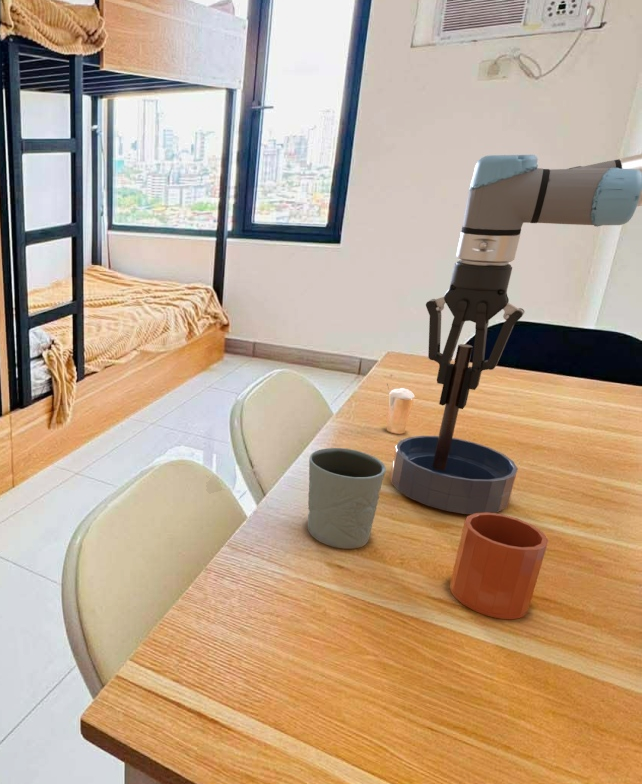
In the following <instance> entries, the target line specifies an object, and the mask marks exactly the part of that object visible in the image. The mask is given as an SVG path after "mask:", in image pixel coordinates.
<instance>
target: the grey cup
mask: <svg viewBox="0 0 642 784" xmlns="http://www.w3.org/2000/svg"><path fill="white" fill-rule="evenodd" d="M308 459H309V460H308V470H309V471H308V476H309V477H308V501H307V503H308V506H307V507H308V514H307V530H308V533H309V535H311V537H312V538H314V539H315V540H316V541H317V542H319V543H321V544H324V545H326V546H330V547H332V548H337V549H344V550H345V549H347V550H351V549H353V550H354V549H359V548H362V547H364V546H366V545H367V544H368V542H369V540H370V537H371V532H372V527H373V523H374V521H375V520H374V519H375V515H376V511H377V506H378V504H379V499H380V494H379V493H380V491H381V489H382V486H383V482H384V478H385V474H386V470H387V469H386V465H385V464H384V463H383V461H381V460H380V459H379V458H377V457H376V456H374V455H371V454H369V453H367V452H363V451H360V450H356V449H351V448H343V447H342V448H341V447H328V448H327V447H326V448H320V449H317V450H315V451H313V452H312V453H311V454H310V456H309V458H308Z"/></svg>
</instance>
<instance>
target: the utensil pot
mask: <svg viewBox="0 0 642 784" xmlns="http://www.w3.org/2000/svg"><path fill="white" fill-rule="evenodd" d="M548 543H549V539H548V537H547V535H546V534H545V533H544V531H542V530H541V529H539V528H538V527H536V526H535V525H533V524H532V523H529V522H527V521H524V520H522V519H519V518H517V517H515V516H514V517H513V516H511V515H507V514H503V513H497V512H496V513H487V512H486V513H474V514H468V515H467V516H466V518H465V520H464V523H463V528H462V532H461V536H460V540H459V544H458V548H457V553H456V557H455V561H454V565H453V570H452V573H451V578H450V581H449V582H450V583H449V587H450V588H449V589H450V593H451V594H452V595H453V597H454V598H455V599H456V600H457V601H458V602H459V603H461V604H462V605H463V606H464V607H467V608H468V609H470V610H472V611H474V612H476V613H478V614H480V615H484V616H488V617H491V618H494V619H500V620H501V619H502V620H516V619H520V618H523V617H524V616H526V615H527V613H528V612H529V609H530V605H531V602H532V599H533V594H534V593H535V588H536V585H537V582H538V578H539V575H540V571H541V567H542V564H543V561H544V557H545V554H546V551H547V547H548Z"/></svg>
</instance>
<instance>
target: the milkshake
mask: <svg viewBox="0 0 642 784" xmlns="http://www.w3.org/2000/svg"><path fill="white" fill-rule="evenodd" d="M386 386H387V389H388V392H389V394H388V409H387V410H388V411H387V422H386V431H387V432H389V433H391V434H395V435H402V434H404V433H406V432H405V431H406V428H407V424H408V421H409V416H410V413H411V409H412V406H413V403H414V401H415V394H414V392H413V391H411V390H410V389H407V388H404V387H401V388H394V389H392V390H391V391H390V387H389V384H388V383H386Z"/></svg>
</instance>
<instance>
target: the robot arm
mask: <svg viewBox="0 0 642 784" xmlns="http://www.w3.org/2000/svg"><path fill="white" fill-rule="evenodd" d="M538 166H539V165H538V156H536V155H535V154H508V155H507V154H492V155H490V154H489V155H483V156H482V157H481V158H480V159H478V160H477V161H476V163H475V166H474V170H473V174H472V176H471V177H472V178H471V181H470V186H469V190H468V194H467V199H466V205H465V209H464V216H463V220H462V226H461V232H460V235H459V241H458V244H457V248H456V249H457V250H456V255H455V257H456V259H458V260H457V261H456V262H455V263H454V264H453V270H452V273H451V274H452V275H451V279H450V284H449V288H448V290H447V291H446V292H445V293H444V294H443V296H441V297H438V298H431V299H429V300H428V301H427V302H426V303H425V307H426V310H427V313H428V315H429V322H428V323H429V325H428V356H427V358H428V360H430V361H434V362H435V363H437V364H438V365H439V366H438V372H437V377H436V383H437V384H440V385H442V388H441V394H440V398H439V399H440V400H439V402H438V405H440V406H445V404H446V400H447V395H448V391H449V386H450V381H451V377H452V372H453V367H454V363H451V362H452V361H453V356H454V354H455V351H456V348H457V346H458V342H459V339H460V336H461V334H462V331H463V327H464V324H465V322H473V323H474V324H475V327H474V328H475V333H474V343H473V350H472V362H471V366H468V369H467V370H466V372H465V376H464V381H463V385H462V390H461V394H460V399H459V403H458V408H459V410H464V408H465V407H466V405H467V402H468V398H469V393H470V390H473V391H475V390H476V389H477V388H478V387H479V385H480V380H481V376H482V372H483V371H486V370H489V371H492V370H494V369H495V368H496V367H497V365H498V363H499V361H500V359H501V356H502V354H503V351H504V350H505V348H506V345H507V343H508V340H509V338H510V335H511V333H512V331H513V329H514V326H515V324H516V323H518V321H519V320H520V319H521V318H522V317H523V315H524V314H525V309H523V308H521V307H519V308H518V307H516V306H515V305H513V304H511V303H510V302H509V297H508V288H509V284H510V279H511V276H512V271H513V267H512V265H511V264H509V263H511V262H513V261H514V260H515V258H516V254H517V250H518V246H519V242H520V239H521V238H520V237H521V231H522V227H523V225H524V224H525V223H527V224H529V223H530V224H552V225H553V224H555V225H576V226H577V225H578V226H593V227H601V226H623V225H625V224H627V223H628V222H629V221H631V219H632V218H633V217H634V214H635V212H636V210H637V207H641V206H642V153H639V154H635V155H631V156H625V157H620V158H618V159H614V160H607V161H603V162H598V163H592V164H587V165H583V166H582V165H578V166H572V167H569V168H557V169H555V168H554V169H553V168H551V169H550V168H542V167H541V168H540V167H539V168H538ZM445 304H446V305H447V307H448V309H449V311H450V312H451V315H452V316H453V320H452V323H451V327H450V329H449V334H448V335H447V339H446V342H445V345H444V348H443V351H442V352H441V341H442V340H441V337H442V312H443V310H444V309H445ZM502 310H503V311H504V313H503V315H502V316H503V319H504V320H505V321H504V322H503V324H502V325H501V329H500V331H499V332H498V336H497V338H496V341H495V343H494V345H493V348H492V351H491V352H490V355H489V358H488V359H486V360H485V354H486V346H487V335H488V327H489V322H490V320H491V319H493V318H494V317H495V316H496V315H497V314H499V313H500V312H502Z"/></svg>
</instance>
